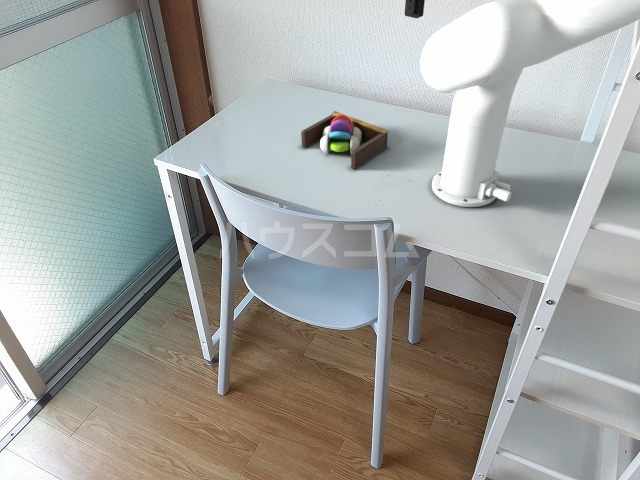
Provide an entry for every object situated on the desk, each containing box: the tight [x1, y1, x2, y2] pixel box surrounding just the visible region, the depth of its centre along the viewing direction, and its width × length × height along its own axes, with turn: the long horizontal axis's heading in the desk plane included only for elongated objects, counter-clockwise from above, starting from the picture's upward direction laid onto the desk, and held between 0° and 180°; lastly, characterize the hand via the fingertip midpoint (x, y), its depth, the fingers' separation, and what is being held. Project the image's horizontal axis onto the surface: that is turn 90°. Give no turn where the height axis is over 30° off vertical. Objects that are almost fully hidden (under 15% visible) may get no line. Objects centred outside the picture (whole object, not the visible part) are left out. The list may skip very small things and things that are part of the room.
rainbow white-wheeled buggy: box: [319, 114, 362, 155], centre depth 112 cm, size 8×10×7 cm
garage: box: [300, 110, 389, 171], centre depth 113 cm, size 15×12×4 cm
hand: (413, 16), depth 99 cm, fingers closed
